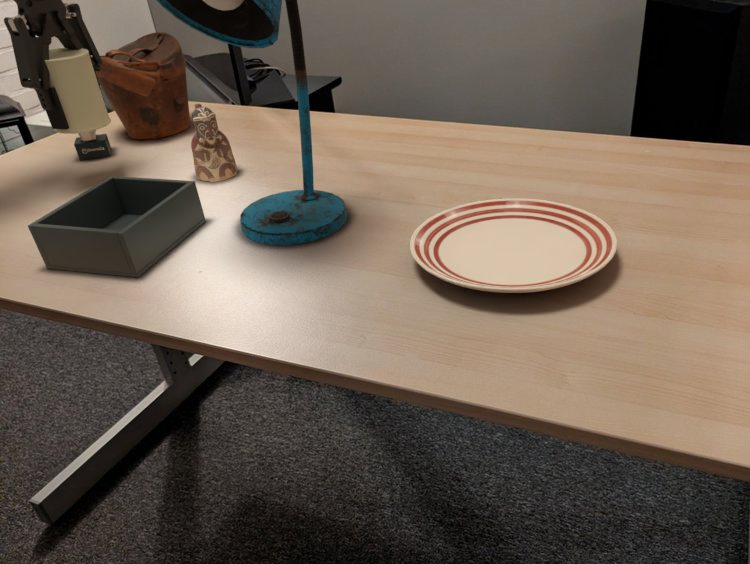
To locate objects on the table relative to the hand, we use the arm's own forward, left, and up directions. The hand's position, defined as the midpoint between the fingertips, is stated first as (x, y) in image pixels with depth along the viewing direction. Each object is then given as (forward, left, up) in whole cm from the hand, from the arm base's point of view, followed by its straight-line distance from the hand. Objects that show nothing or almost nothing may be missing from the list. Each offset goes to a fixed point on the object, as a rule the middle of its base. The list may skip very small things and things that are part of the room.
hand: (80, 119), depth 112 cm
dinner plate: (+77, -17, -11) cm, 80 cm away
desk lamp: (+42, -13, -11) cm, 46 cm away
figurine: (+20, +5, -11) cm, 24 cm away
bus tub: (+21, -22, -11) cm, 32 cm away
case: (-6, +26, -11) cm, 29 cm away
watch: (-10, +11, -11) cm, 18 cm away
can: (0, 0, -1) cm, 1 cm away
